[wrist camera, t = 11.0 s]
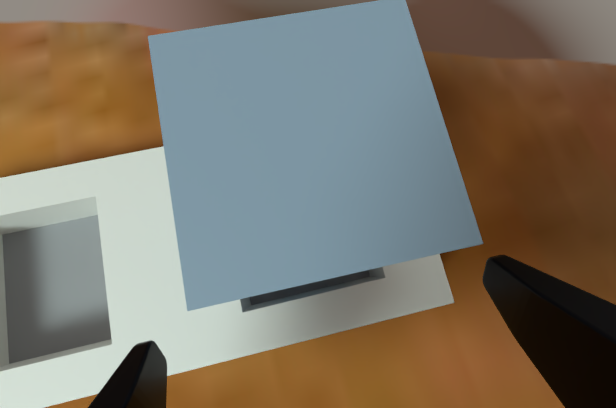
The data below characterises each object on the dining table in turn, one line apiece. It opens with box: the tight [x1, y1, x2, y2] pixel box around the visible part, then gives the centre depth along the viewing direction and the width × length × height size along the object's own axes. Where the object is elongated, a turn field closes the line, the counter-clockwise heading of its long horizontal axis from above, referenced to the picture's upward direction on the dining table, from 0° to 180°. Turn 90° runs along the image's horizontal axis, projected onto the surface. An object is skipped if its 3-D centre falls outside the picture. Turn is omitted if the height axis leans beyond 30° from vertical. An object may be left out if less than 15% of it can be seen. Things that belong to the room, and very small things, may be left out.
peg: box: [148, 0, 483, 311], centre depth 12 cm, size 4×4×13 cm
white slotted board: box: [0, 146, 454, 408], centre depth 16 cm, size 10×24×4 cm, turn 103°
